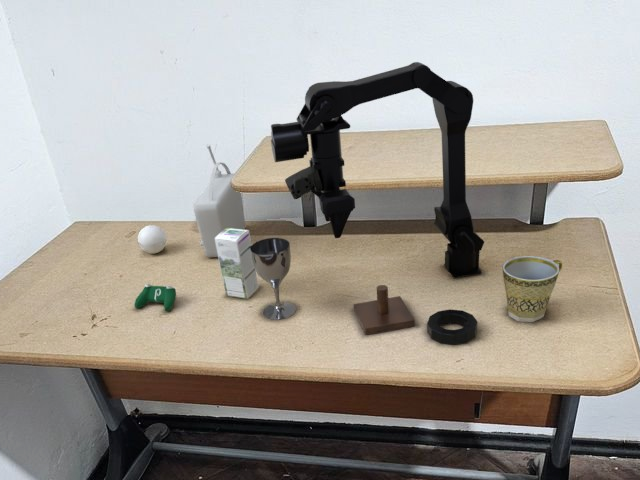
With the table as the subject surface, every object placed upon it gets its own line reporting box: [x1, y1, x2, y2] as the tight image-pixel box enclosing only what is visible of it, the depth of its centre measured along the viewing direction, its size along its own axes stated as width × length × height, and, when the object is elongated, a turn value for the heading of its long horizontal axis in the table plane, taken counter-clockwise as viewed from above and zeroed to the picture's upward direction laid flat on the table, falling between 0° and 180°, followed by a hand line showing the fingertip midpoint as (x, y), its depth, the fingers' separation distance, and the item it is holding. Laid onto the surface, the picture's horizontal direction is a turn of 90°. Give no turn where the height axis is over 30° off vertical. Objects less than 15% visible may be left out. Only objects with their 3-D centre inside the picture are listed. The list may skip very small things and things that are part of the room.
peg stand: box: [352, 284, 416, 336], centre depth 125 cm, size 10×10×7 cm
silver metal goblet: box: [250, 237, 297, 321], centre depth 129 cm, size 8×8×15 cm
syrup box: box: [215, 228, 260, 300], centre depth 138 cm, size 6×6×14 cm
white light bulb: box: [127, 224, 168, 254], centre depth 164 cm, size 10×7×7 cm
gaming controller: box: [134, 283, 177, 312], centre depth 141 cm, size 9×4×6 cm
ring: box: [426, 309, 478, 346], centre depth 120 cm, size 9×9×2 cm
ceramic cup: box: [502, 255, 563, 323], centre depth 120 cm, size 13×10×10 cm
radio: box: [193, 143, 246, 258], centre depth 159 cm, size 22×8×25 cm, turn 172°
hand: (332, 229), depth 130 cm, fingers open, 9 cm apart
